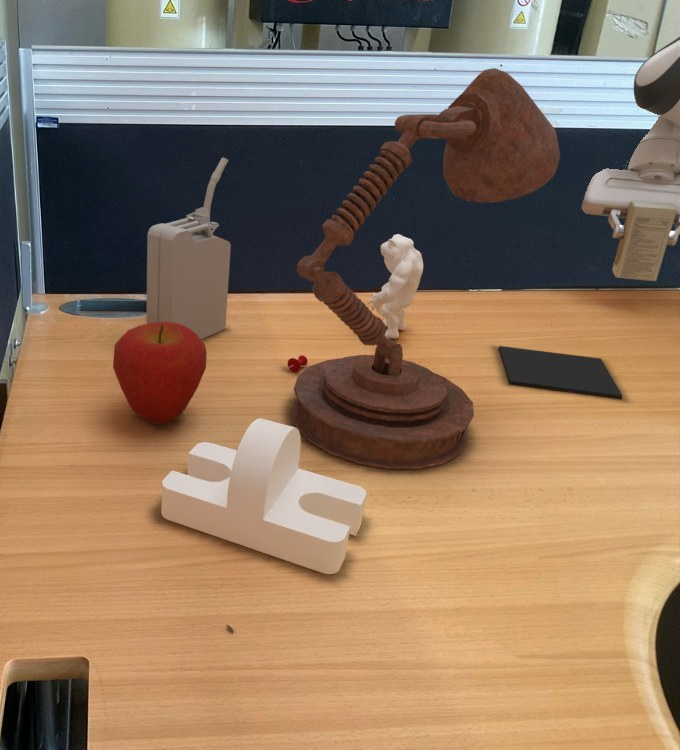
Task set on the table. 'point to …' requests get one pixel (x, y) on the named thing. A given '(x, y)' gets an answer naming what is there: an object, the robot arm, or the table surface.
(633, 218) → the cosmetic box
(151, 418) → the apple
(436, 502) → the table surface
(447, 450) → the desk lamp
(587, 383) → the mat
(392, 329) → the figurine
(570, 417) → the table surface
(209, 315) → the gas can
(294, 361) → the pushpin
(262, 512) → the white u-slot block
